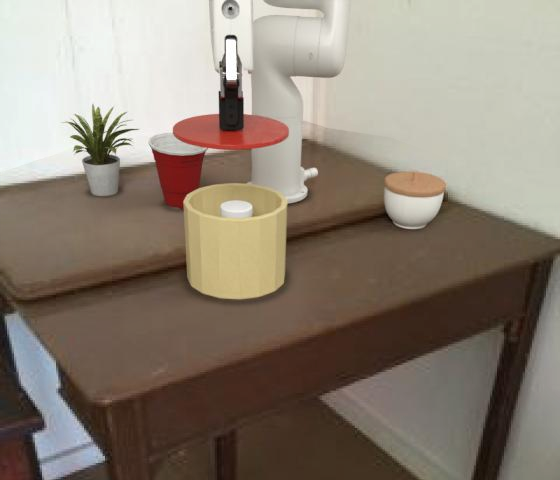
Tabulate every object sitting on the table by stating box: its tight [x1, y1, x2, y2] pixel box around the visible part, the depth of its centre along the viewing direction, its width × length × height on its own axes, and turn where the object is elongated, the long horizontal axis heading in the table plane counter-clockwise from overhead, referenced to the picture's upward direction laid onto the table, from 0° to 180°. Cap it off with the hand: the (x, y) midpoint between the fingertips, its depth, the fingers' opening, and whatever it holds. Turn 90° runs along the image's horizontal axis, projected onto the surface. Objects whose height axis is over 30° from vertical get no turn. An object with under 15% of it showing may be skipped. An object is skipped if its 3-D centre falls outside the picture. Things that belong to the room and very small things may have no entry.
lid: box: [172, 88, 289, 151], centre depth 93 cm, size 16×16×6 cm
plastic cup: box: [148, 132, 209, 211], centre depth 129 cm, size 11×11×12 cm
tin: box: [183, 182, 288, 300], centre depth 103 cm, size 15×15×12 cm
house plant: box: [61, 104, 140, 197], centre depth 131 cm, size 14×14×16 cm
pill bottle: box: [220, 200, 253, 218], centre depth 104 cm, size 6×6×11 cm
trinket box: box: [383, 170, 447, 230], centre depth 125 cm, size 11×11×9 cm
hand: (231, 124), depth 94 cm, fingers closed on lid, 2 cm apart
